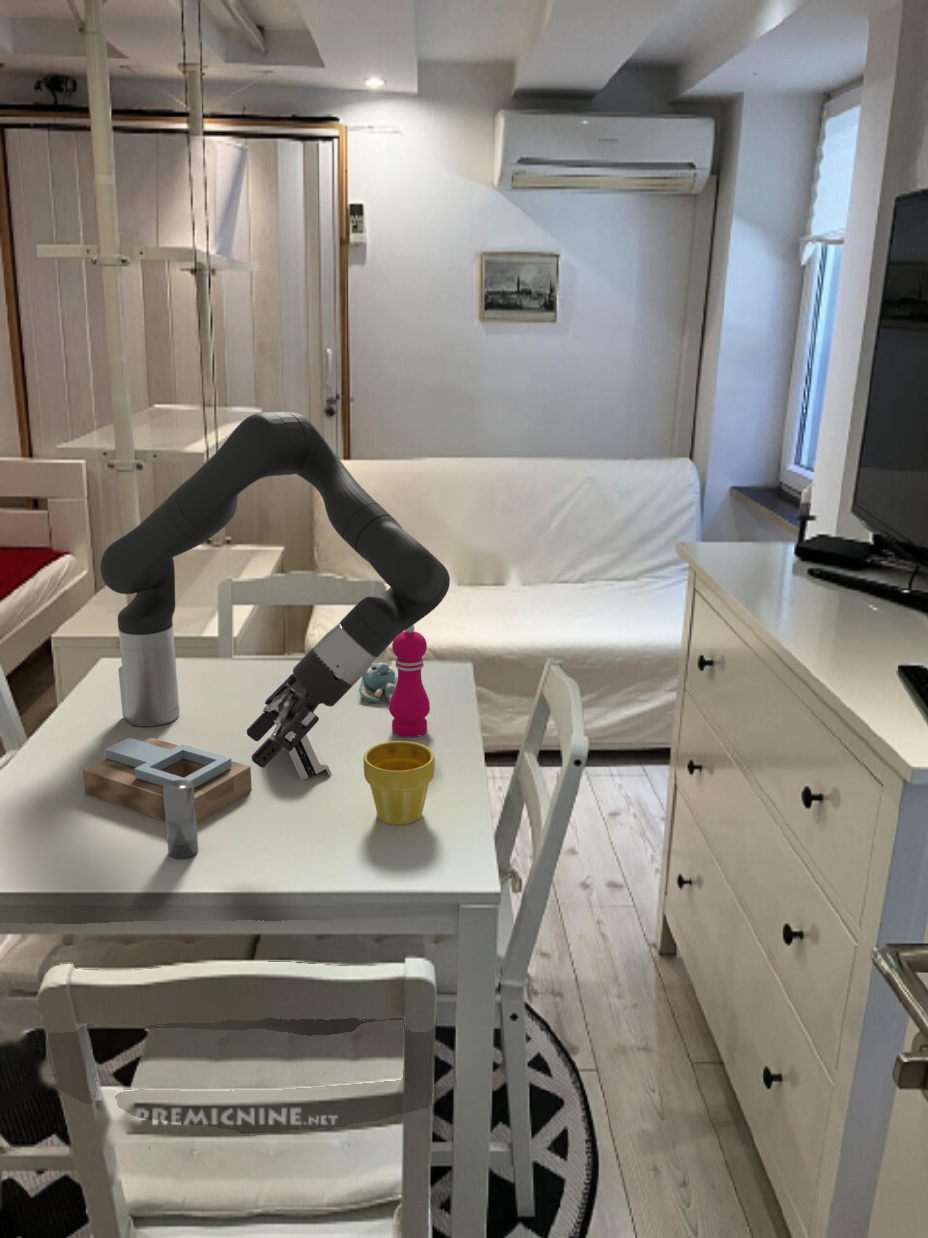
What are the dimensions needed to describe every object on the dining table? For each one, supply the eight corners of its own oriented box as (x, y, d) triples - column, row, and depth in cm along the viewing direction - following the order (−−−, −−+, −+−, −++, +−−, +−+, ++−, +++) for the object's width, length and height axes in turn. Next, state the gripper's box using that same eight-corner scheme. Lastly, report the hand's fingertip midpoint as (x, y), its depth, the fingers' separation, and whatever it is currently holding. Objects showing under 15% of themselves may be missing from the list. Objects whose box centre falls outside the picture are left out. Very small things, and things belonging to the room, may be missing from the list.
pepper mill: (382, 734, 177) (381, 626, 171) (400, 719, 184) (399, 615, 178) (419, 741, 175) (419, 632, 169) (436, 726, 181) (437, 620, 175)
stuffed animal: (374, 686, 185) (347, 656, 194) (371, 719, 188) (345, 687, 197) (426, 676, 190) (397, 647, 199) (422, 708, 193) (394, 678, 202)
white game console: (332, 775, 162) (309, 724, 158) (305, 789, 161) (281, 737, 157) (311, 735, 177) (289, 687, 173) (286, 746, 176) (264, 699, 172)
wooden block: (85, 793, 154) (82, 770, 153) (152, 759, 166) (150, 737, 165) (187, 828, 145) (185, 803, 144) (251, 789, 157) (250, 766, 155)
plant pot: (377, 838, 143) (376, 775, 140) (355, 805, 152) (354, 746, 149) (444, 824, 147) (445, 763, 144) (419, 793, 156) (419, 736, 153)
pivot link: (92, 764, 155) (91, 755, 154) (141, 740, 163) (140, 732, 163) (185, 793, 146) (184, 784, 146) (231, 767, 155) (231, 758, 154)
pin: (162, 854, 138) (156, 789, 135) (183, 841, 141) (177, 777, 138) (183, 862, 136) (178, 796, 133) (204, 849, 140) (199, 784, 137)
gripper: (308, 631, 142) (229, 714, 142) (323, 665, 129) (236, 756, 129) (346, 663, 145) (268, 744, 145) (364, 699, 132) (279, 788, 132)
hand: (253, 749), depth 137 cm, fingers open, 8 cm apart
